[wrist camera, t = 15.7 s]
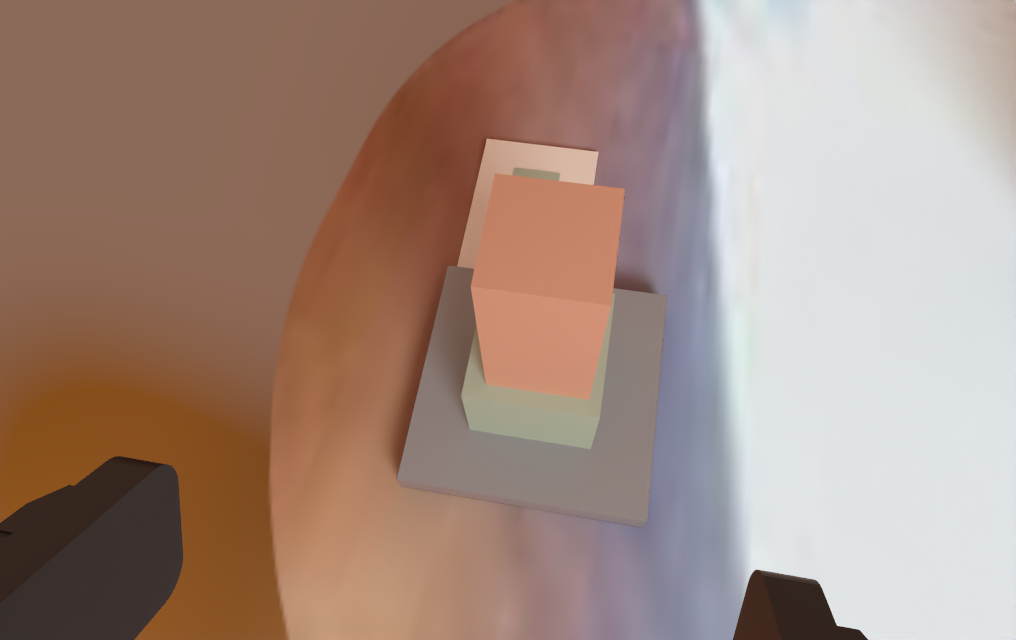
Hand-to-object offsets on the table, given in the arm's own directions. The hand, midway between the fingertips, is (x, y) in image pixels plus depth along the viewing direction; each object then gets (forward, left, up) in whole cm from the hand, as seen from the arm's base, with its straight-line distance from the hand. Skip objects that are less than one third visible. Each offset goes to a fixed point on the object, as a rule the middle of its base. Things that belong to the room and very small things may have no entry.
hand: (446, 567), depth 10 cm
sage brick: (-11, -3, -24) cm, 27 cm away
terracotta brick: (-11, -3, -19) cm, 22 cm away
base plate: (-11, -3, -25) cm, 28 cm away
